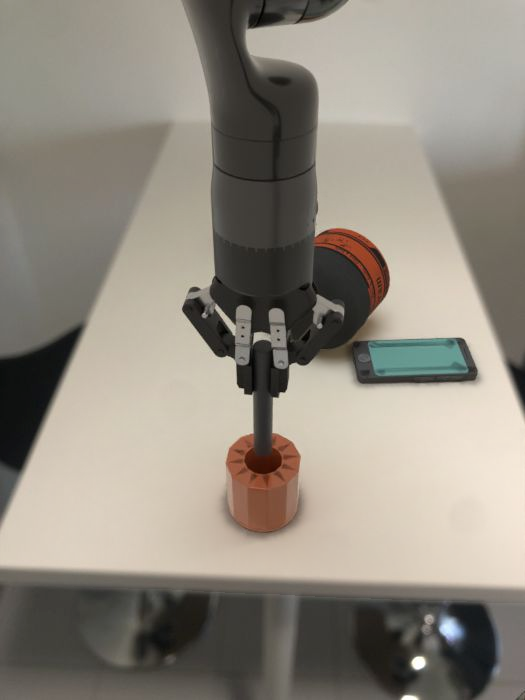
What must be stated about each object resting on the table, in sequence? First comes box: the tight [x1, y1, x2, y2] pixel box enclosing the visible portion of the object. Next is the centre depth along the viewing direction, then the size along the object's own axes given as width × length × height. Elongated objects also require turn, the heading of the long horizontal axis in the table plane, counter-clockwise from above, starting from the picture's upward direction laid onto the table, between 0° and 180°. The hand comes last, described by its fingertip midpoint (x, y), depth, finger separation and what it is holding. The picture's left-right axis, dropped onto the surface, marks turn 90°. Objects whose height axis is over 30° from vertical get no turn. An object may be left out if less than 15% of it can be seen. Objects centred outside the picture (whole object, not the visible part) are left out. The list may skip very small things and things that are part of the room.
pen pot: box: [225, 432, 302, 533], centre depth 69 cm, size 7×7×7 cm
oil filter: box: [291, 227, 391, 350], centre depth 88 cm, size 13×12×13 cm
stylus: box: [252, 339, 274, 457], centre depth 61 cm, size 2×2×14 cm
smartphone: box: [351, 337, 479, 384], centre depth 87 cm, size 7×1×15 cm
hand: (263, 389), depth 60 cm, fingers closed on stylus, 2 cm apart
